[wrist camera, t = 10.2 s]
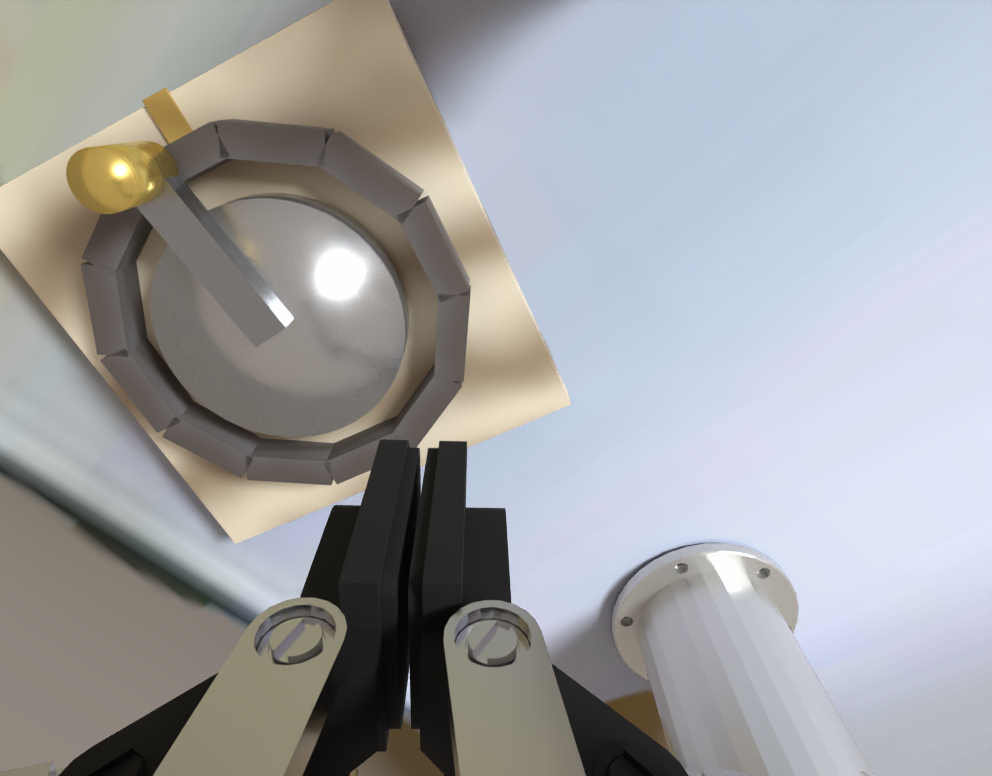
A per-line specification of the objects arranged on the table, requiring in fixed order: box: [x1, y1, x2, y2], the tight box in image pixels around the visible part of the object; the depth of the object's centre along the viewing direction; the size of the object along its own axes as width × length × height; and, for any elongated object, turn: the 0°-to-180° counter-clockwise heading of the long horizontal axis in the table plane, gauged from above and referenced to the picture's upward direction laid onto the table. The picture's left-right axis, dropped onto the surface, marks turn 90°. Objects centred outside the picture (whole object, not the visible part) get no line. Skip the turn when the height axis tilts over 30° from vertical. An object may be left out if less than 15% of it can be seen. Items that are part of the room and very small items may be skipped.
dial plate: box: [0, 0, 571, 544], centre depth 32 cm, size 22×22×4 cm
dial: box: [66, 140, 409, 437], centre depth 29 cm, size 16×12×6 cm
